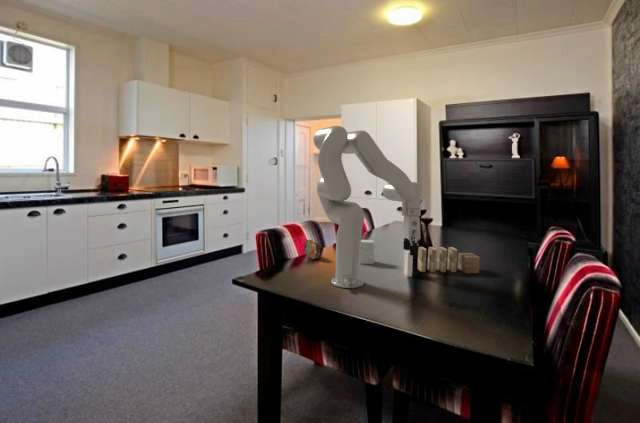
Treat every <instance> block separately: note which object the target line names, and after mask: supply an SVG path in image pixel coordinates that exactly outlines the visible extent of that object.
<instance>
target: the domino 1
mask: <svg viewBox="0 0 640 423" xmlns="http://www.w3.org/2000/svg"><path fill="white" fill-rule="evenodd" d="M413 259H414V255H410V250H404V261H403V262H404V263H403V264H404V265H403V267H404V268H403V274H404V275H405V276H406V277H409V278H410V277H413V261H414V260H413Z"/></svg>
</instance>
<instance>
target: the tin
mask: <svg viewBox="0 0 640 423" xmlns="http://www.w3.org/2000/svg"><path fill="white" fill-rule="evenodd" d="M303 246H304V248H303V249H304V254H305V255H307V256H306V257H308V256H309V257H308V258H310V257H311V258H310V259H312V260H317V259H319V258H320V257H321V249H322V248H321V244H320V243H319V242H318V241H315V240H313V239H306V240H305V242H304V245H303Z"/></svg>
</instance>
